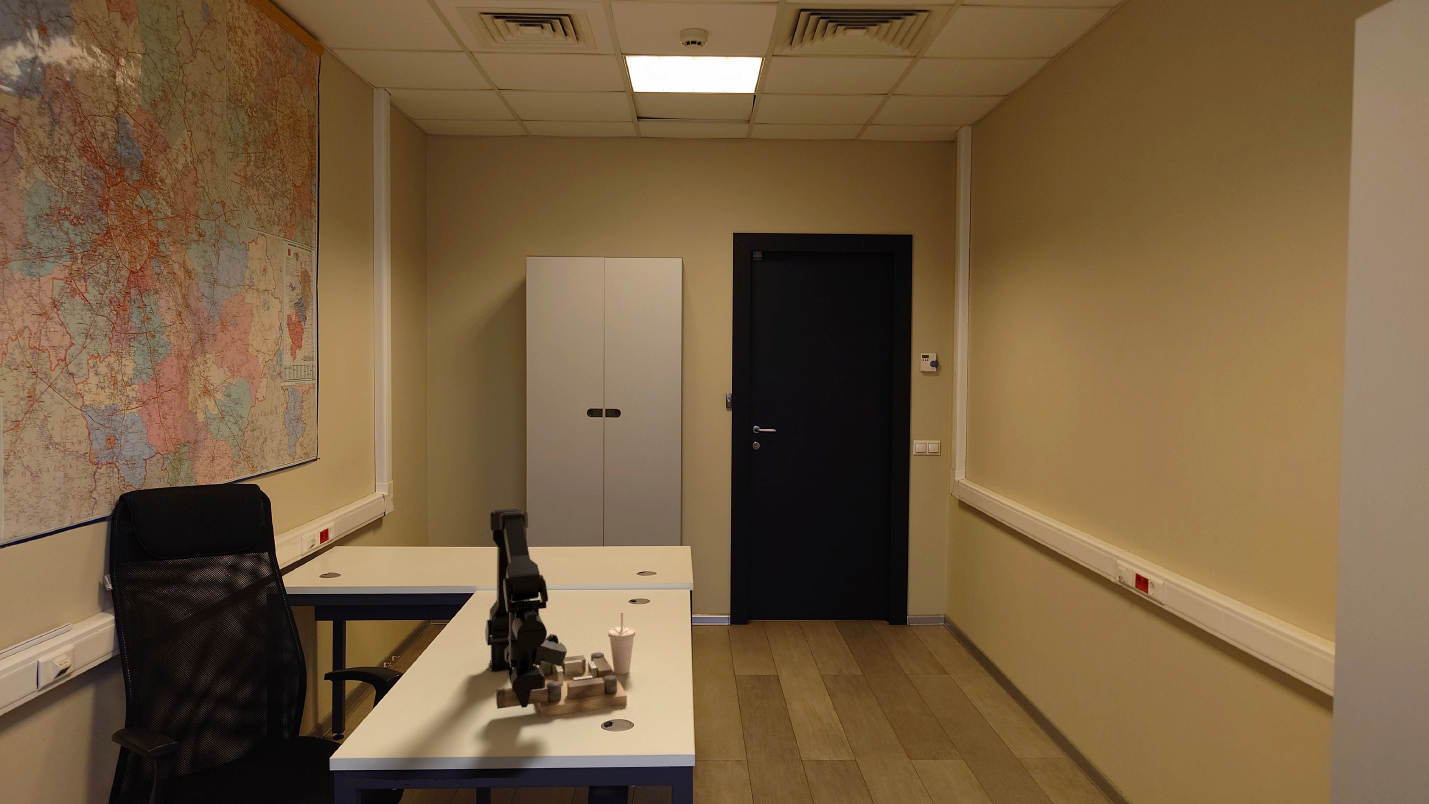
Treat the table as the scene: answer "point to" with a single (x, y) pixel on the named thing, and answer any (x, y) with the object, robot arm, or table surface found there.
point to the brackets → (575, 670)
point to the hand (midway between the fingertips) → (524, 706)
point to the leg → (536, 696)
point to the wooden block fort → (584, 688)
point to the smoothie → (621, 647)
